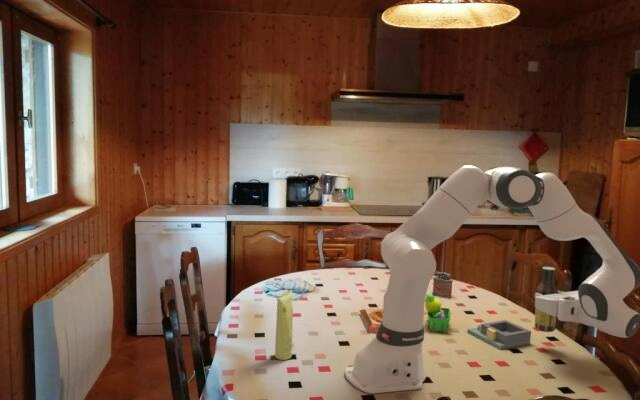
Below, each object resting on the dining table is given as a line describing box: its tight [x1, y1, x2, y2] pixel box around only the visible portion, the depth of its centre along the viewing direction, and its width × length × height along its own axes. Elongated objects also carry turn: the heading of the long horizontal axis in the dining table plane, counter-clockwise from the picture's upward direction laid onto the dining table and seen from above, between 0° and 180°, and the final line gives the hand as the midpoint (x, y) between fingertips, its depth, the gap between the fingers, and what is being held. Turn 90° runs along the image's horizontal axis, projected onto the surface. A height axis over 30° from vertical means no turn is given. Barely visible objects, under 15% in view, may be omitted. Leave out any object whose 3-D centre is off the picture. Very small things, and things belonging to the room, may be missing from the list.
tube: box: [274, 289, 293, 361], centre depth 155 cm, size 6×5×20 cm
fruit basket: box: [424, 294, 452, 333], centre depth 185 cm, size 11×9×11 cm
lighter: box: [431, 271, 454, 299], centre depth 220 cm, size 8×3×10 cm, turn 58°
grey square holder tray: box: [467, 320, 531, 350], centre depth 177 cm, size 13×15×3 cm
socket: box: [480, 319, 532, 345], centre depth 176 cm, size 12×11×3 cm
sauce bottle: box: [534, 266, 559, 333], centre depth 168 cm, size 6×6×20 cm
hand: (544, 293), depth 169 cm, fingers closed on sauce bottle, 6 cm apart
